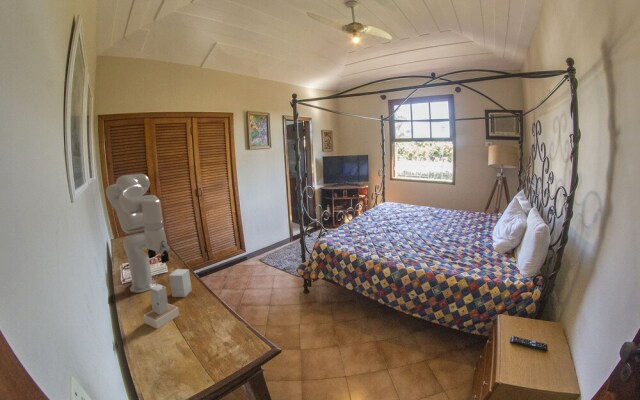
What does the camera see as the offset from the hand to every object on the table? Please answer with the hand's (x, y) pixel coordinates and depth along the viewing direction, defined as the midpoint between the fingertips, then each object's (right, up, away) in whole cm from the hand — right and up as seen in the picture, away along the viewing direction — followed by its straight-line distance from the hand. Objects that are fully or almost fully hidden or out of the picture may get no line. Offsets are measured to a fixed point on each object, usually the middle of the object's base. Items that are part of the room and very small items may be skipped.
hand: (158, 259), depth 134 cm
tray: (+2, -27, -1) cm, 28 cm away
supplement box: (+1, -23, +20) cm, 31 cm away
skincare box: (+2, -23, -2) cm, 24 cm away
